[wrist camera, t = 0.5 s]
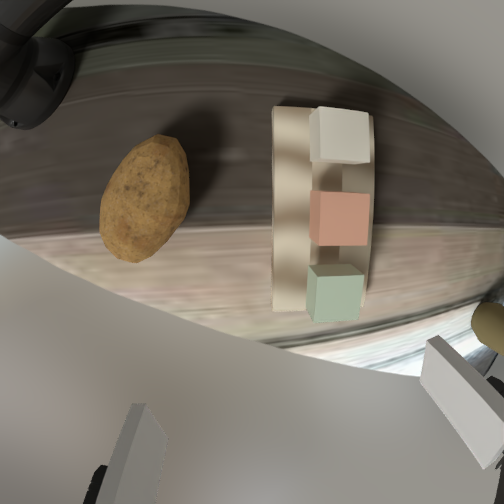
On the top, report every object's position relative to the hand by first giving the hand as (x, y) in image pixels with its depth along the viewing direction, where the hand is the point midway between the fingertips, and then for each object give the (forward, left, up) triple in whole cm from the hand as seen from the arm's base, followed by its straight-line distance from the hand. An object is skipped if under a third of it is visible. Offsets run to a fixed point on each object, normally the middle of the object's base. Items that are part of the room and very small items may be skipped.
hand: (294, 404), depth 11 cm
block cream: (-8, +14, -22) cm, 27 cm away
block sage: (+6, +5, -22) cm, 23 cm away
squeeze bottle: (+33, +30, -25) cm, 51 cm away
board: (-1, +9, -24) cm, 26 cm away
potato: (-13, -7, -25) cm, 29 cm away
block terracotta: (-1, +9, -22) cm, 24 cm away
